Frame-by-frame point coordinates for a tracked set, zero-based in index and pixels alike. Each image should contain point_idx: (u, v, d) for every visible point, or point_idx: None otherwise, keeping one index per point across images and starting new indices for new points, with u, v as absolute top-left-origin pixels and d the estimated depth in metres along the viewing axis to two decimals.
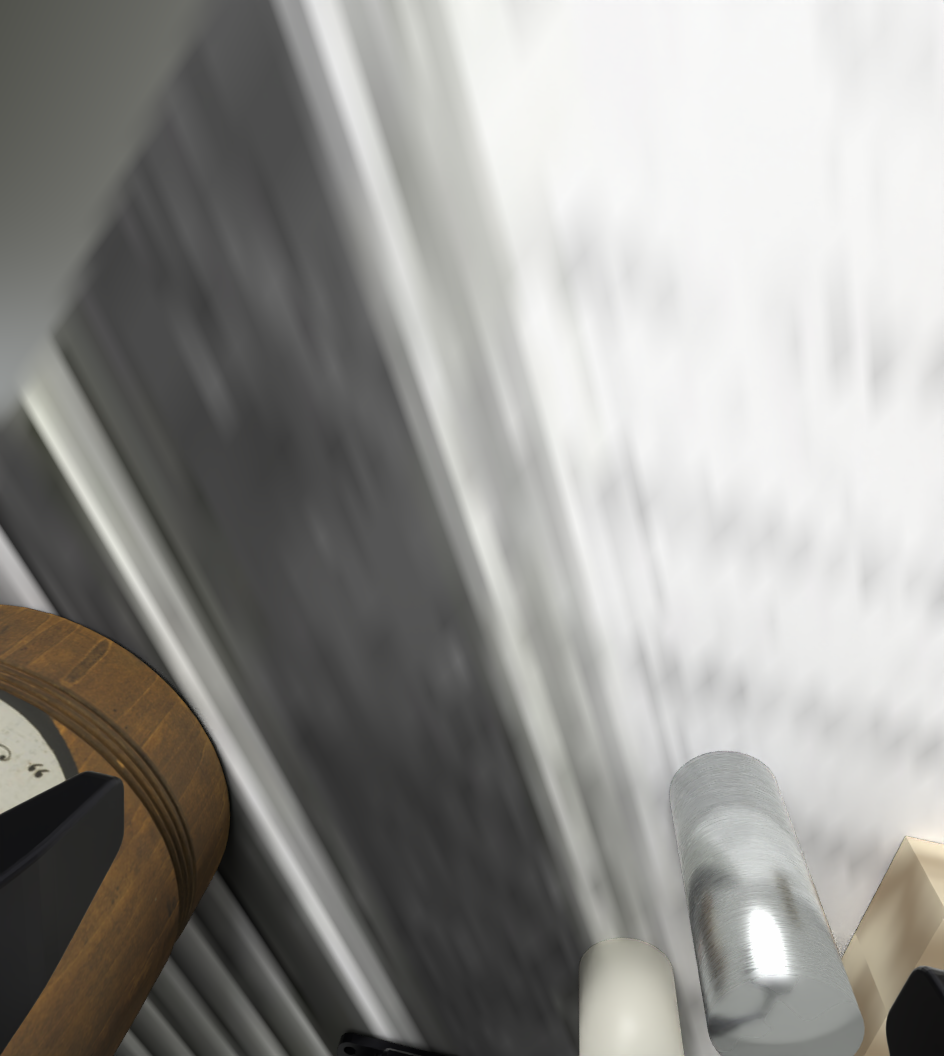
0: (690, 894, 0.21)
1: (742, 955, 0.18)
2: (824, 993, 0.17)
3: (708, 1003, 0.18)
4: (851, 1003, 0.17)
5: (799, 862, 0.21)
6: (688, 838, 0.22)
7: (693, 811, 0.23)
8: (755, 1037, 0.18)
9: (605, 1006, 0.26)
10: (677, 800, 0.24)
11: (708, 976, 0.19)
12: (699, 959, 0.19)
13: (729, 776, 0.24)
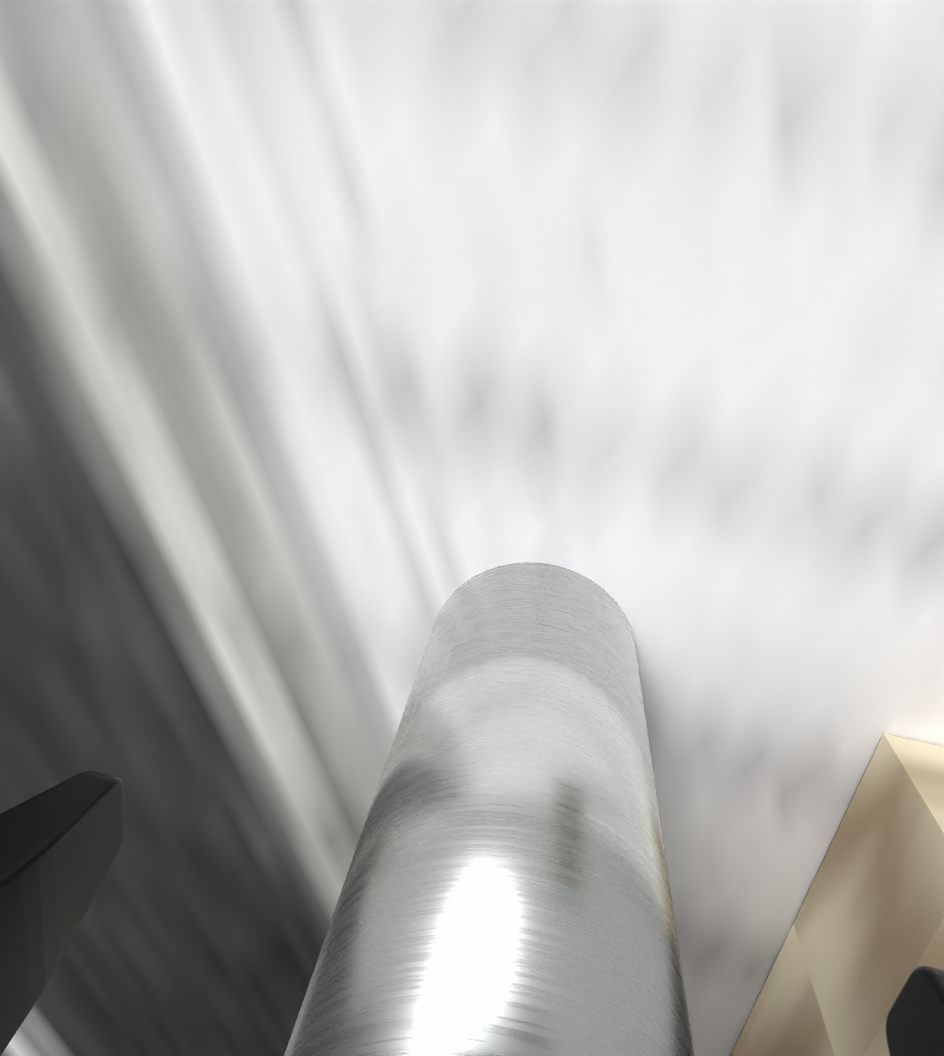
0: None
1: (357, 982, 0.06)
2: None
3: None
4: None
5: (618, 750, 0.09)
6: (404, 714, 0.10)
7: (428, 663, 0.11)
8: None
9: None
10: (424, 656, 0.12)
11: None
12: None
13: (515, 597, 0.11)
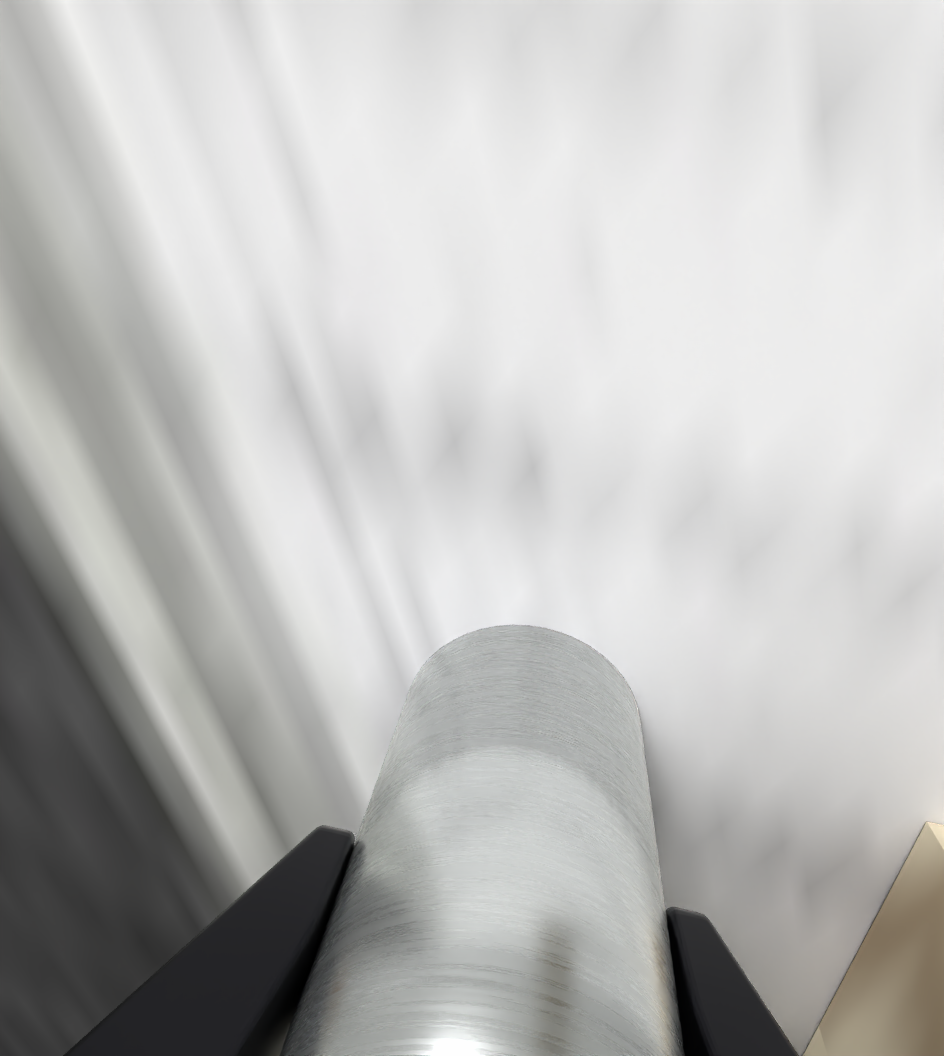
0: None
1: None
2: None
3: None
4: None
5: (621, 893, 0.07)
6: (363, 822, 0.09)
7: (395, 756, 0.09)
8: None
9: None
10: None
11: None
12: None
13: (498, 673, 0.10)
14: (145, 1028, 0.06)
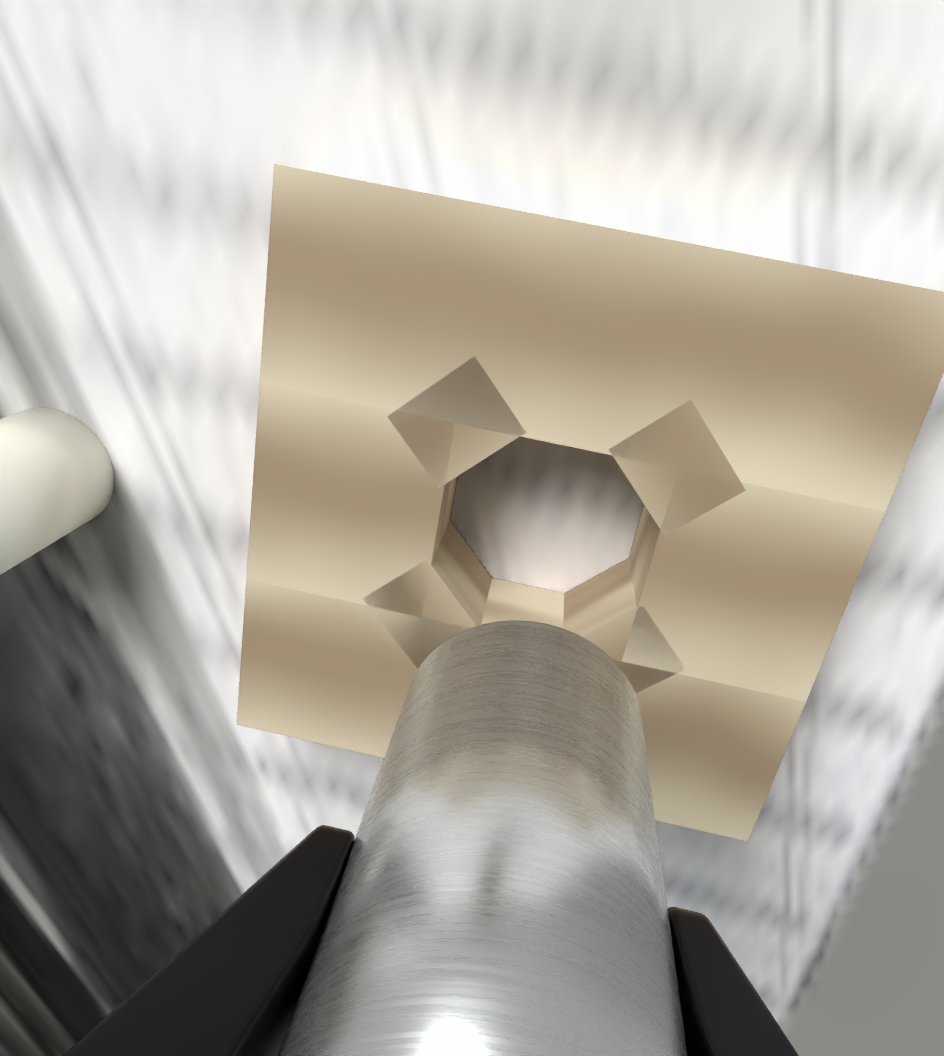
0: None
1: None
2: None
3: None
4: None
5: (623, 887, 0.07)
6: (362, 818, 0.09)
7: (395, 751, 0.09)
8: None
9: None
10: (393, 731, 0.10)
11: None
12: None
13: (499, 668, 0.10)
14: (145, 1028, 0.06)
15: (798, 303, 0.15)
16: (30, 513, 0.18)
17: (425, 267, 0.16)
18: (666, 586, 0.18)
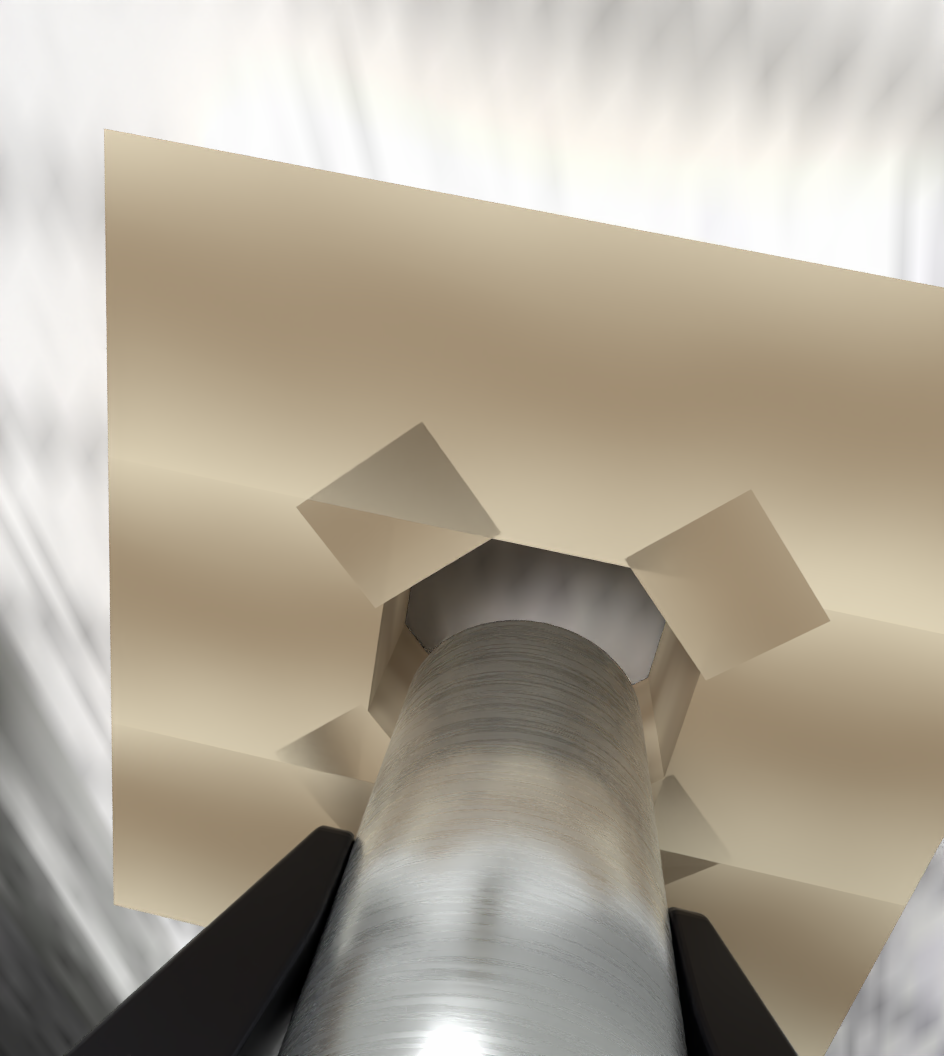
0: None
1: None
2: None
3: None
4: None
5: (623, 886, 0.07)
6: (363, 817, 0.09)
7: (395, 751, 0.09)
8: None
9: None
10: (393, 731, 0.10)
11: None
12: None
13: (499, 667, 0.10)
14: (145, 1028, 0.06)
15: (927, 345, 0.10)
16: None
17: (343, 288, 0.10)
18: (708, 748, 0.12)
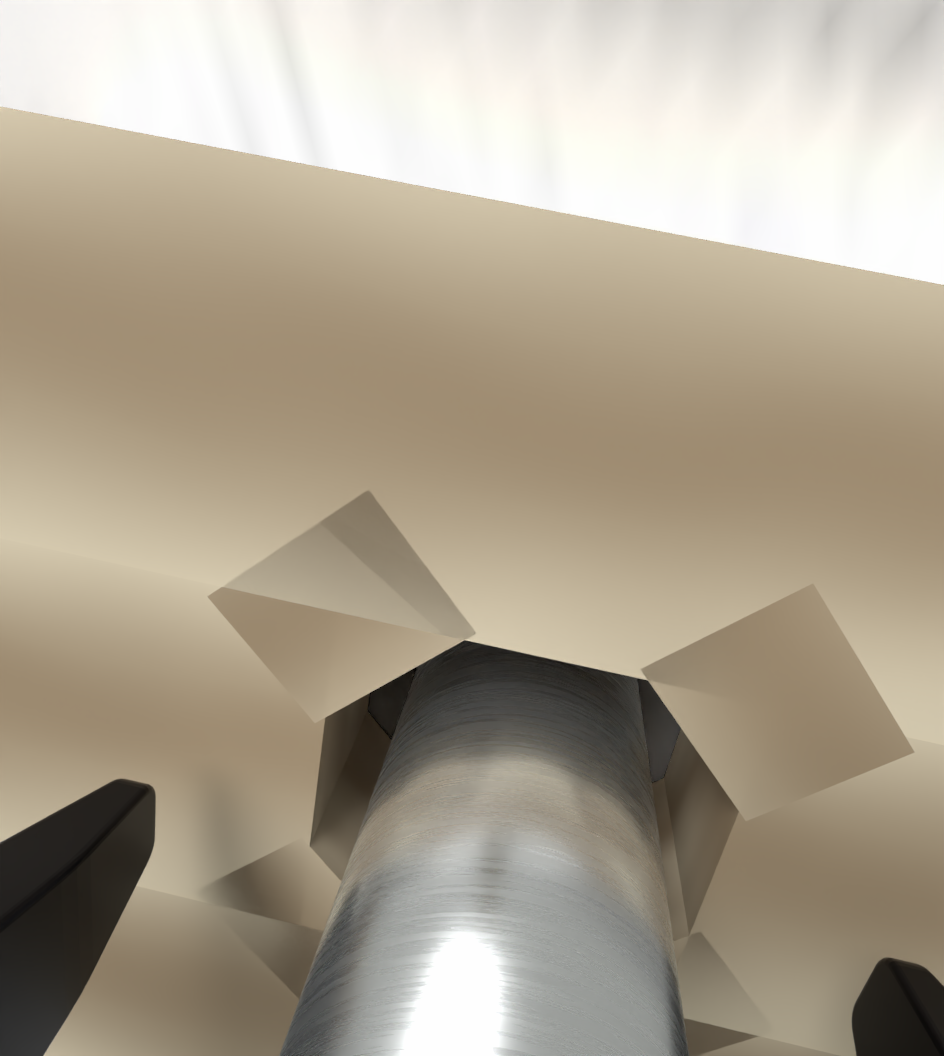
0: None
1: None
2: None
3: None
4: None
5: (619, 810, 0.08)
6: (385, 760, 0.09)
7: (413, 703, 0.10)
8: None
9: None
10: None
11: None
12: None
13: None
14: None
15: None
16: None
17: (257, 312, 0.07)
18: (747, 902, 0.09)
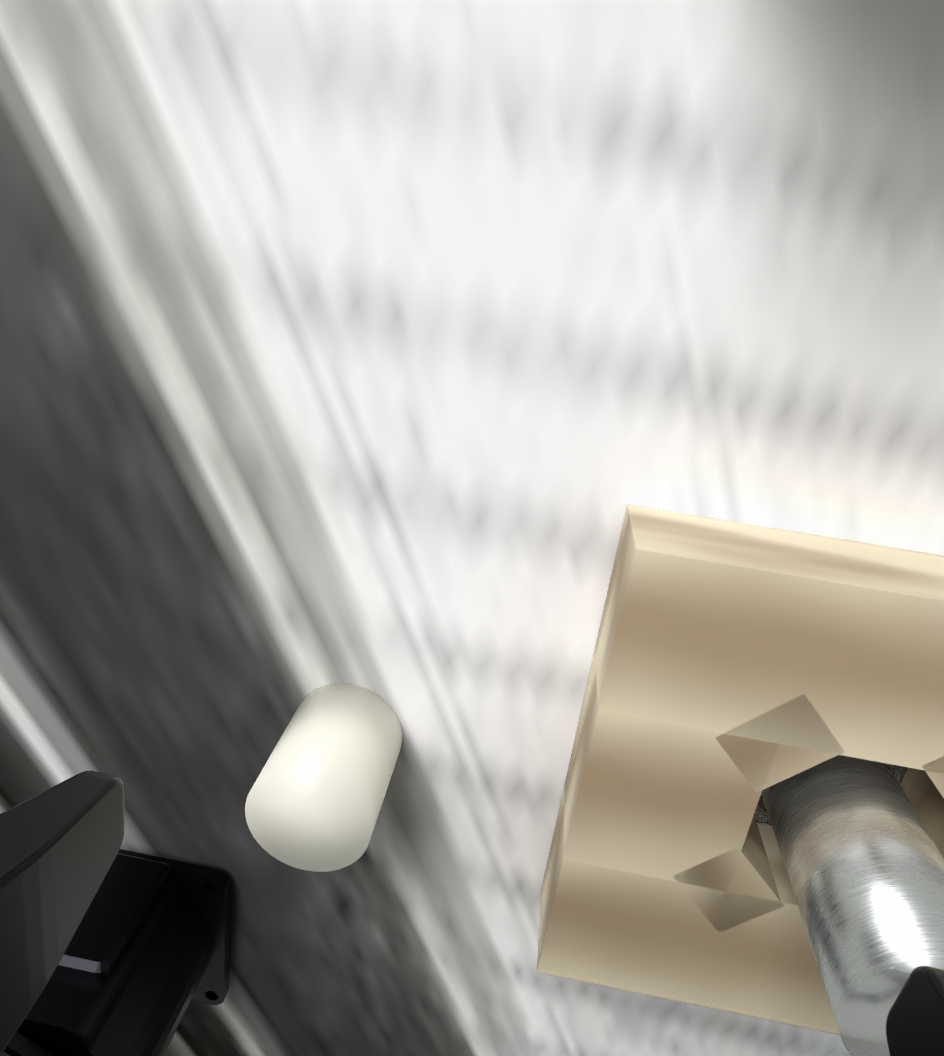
0: (796, 871, 0.18)
1: (876, 938, 0.15)
2: None
3: (837, 996, 0.15)
4: None
5: (923, 830, 0.18)
6: (786, 809, 0.20)
7: (788, 778, 0.20)
8: None
9: (285, 742, 0.21)
10: None
11: (833, 964, 0.16)
12: (818, 945, 0.17)
13: None
14: None
15: None
16: (374, 814, 0.21)
17: (766, 627, 0.18)
18: None
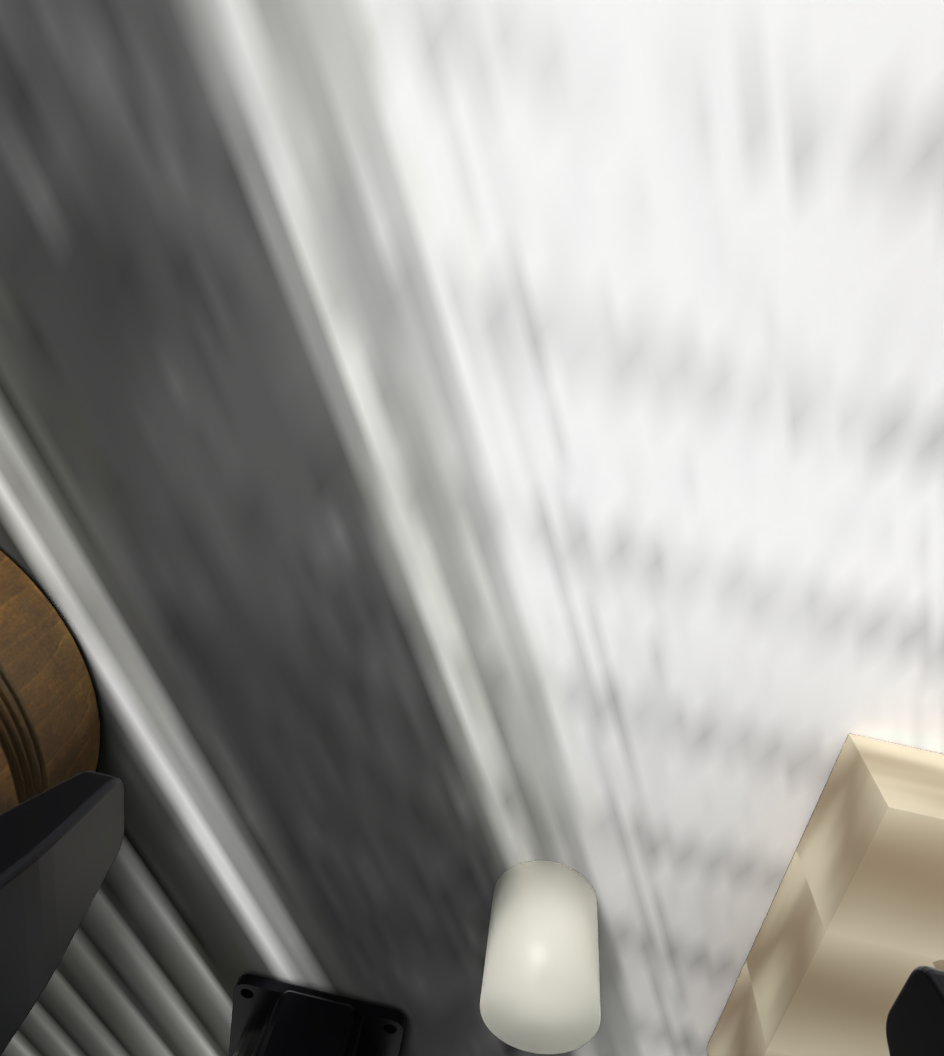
0: None
1: None
2: None
3: None
4: None
5: None
6: None
7: None
8: None
9: (511, 930, 0.23)
10: None
11: None
12: None
13: None
14: None
15: None
16: None
17: None
18: None
